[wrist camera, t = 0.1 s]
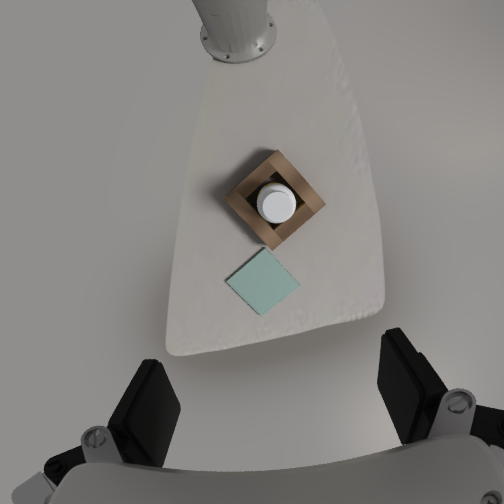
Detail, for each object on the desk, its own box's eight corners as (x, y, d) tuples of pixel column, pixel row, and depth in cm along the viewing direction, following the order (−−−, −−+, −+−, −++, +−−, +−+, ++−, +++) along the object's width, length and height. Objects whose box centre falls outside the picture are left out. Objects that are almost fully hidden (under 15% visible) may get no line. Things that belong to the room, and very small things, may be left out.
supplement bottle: (272, 222, 47) (274, 236, 37) (250, 196, 45) (247, 204, 36) (298, 201, 45) (307, 210, 36) (276, 175, 44) (280, 176, 35)
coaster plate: (226, 280, 50) (226, 281, 49) (265, 247, 48) (265, 248, 47) (261, 314, 51) (261, 316, 51) (299, 284, 49) (300, 285, 49)
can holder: (226, 196, 46) (223, 198, 43) (277, 150, 43) (277, 149, 40) (271, 245, 48) (272, 250, 45) (322, 202, 45) (326, 204, 42)
